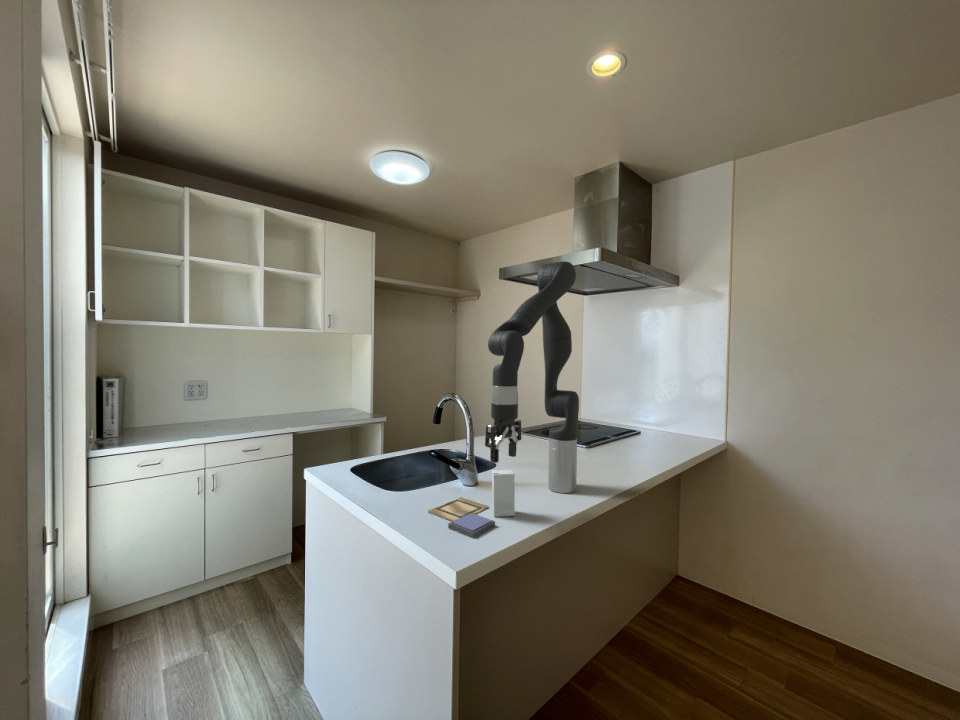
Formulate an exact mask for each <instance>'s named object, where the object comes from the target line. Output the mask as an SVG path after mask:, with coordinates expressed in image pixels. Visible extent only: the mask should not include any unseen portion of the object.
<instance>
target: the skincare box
mask: <svg viewBox="0 0 960 720" xmlns="http://www.w3.org/2000/svg"><path fill="white" fill-rule="evenodd" d="M515 486H516V485H515V473H514V470H512V469H499V470H498V469H497V470H495V469H494V470H493V469H492V470H491V499H492V500H491V506H492V507H491V509H492V510H491V511H492V514H493V517H496V518H498V517H515V515H516V514H515V513H516V512H515V507H516V506H515V505H516V504H515V502H516V501H515V498H516V496H515V490H516V489H515V488H516V487H515Z"/></svg>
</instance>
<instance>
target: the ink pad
mask: <svg viewBox="0 0 960 720" xmlns="http://www.w3.org/2000/svg"><path fill="white" fill-rule="evenodd" d="M447 526H448V527H447V528H448V529H450V530H452V531H454V532H456V533H459V534H462V535H464V536H466V537H469V538H472V539H475V538H476V537H477V536H480V535H482V534H483V533H484V532H487V531H488V530H490V529H493V528H494V527H496V521H495V520H492V519H490V518H486V517H484V516H480V515H478V514H473V513H469V514H467V515H465V516H463V517H461V518H459V519H457V520H455V521H453V522H452V521H450V522H448V523H447Z"/></svg>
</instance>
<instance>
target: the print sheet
mask: <svg viewBox="0 0 960 720" xmlns="http://www.w3.org/2000/svg"><path fill="white" fill-rule="evenodd" d="M489 508H490V507H489V505H487V504H483V503H480V502H477V501H473V500H470V499H467V498H465V497H461V496H460V497H457V498H455V499H453V500H451V501H448V502H446V503H443V504H441V505H438V506H436V507H434V508H431V509H429V510H427V513H429V514H432V515H433V516H437V517H439V518H442V519H444V520H446V521H448V522H449V521H450V522H453V521H455V520H457V519H459V518H461V517H463V516H465V515H467V514H469V513H473V514H476V515H478V514H479V513H481V512H483V511H485V510H488V509H489Z"/></svg>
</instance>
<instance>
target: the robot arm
mask: <svg viewBox="0 0 960 720" xmlns="http://www.w3.org/2000/svg"><path fill="white" fill-rule="evenodd" d="M576 279H577V272H576V268H575V266H574V264H572V263H571V262H570V261H564V260H563V261H555V262H554V261H553V262H550V263H543V264H542V265H540V266H539V268H538V271H537V282H536V283H537V290H538V292H536V293H535V294H533V295H531V296H530V297H529V298H527V299H526V300H525V301H524V302H522V303H521V304H520V305H519V307H518V308H517V309H516V310H515V312H514V313H513V314H512V316H511V317H510V318H509V319H507V320H506V321H504V322H503V323H502V324H501V325H500V326H498V327H497V328H495V330H494V331H493V332H492V333H491V334H490V335H489V338H488V341H487V347H488V350H489V352H490V353H491V354H492V355H494V356H497V357H502V360H501V362H500V363H499V364H496V365H494V367H493V369H492V388H491V397H490V398H491V400H490V401H491V402H490V404H491V405H490V406H491V407H490V409H491V410H490V414H491V415H490V417H491V419H493V424H486V426H485V439H484V440H485V441H484V446H485V447H486V448H489V449H490V452H489V453H490V462H491V463H493V464H494V463H495V464H498V463H499V462H500V461H499V460H500V456H499V453H500V449H499V447H500V445H501V443H503V442H504V440H505V439H507V441H508V456H509V457H512V458H513V457H514V458H515V457H517V444H518V443H519V441H521V440H522V420H520V419H518V416H519V389H518V374H519V368H520V365H521V361H522V358H523V354H524V350H525V341H524V338H523V337H525V336H526V335H527V336H528V334H530V332H531V331H532V330H533V328H534V327H536V325H537V323H538V322H539V321H540V319H541V322H542V323H541V324H542V343H543V344H542V345H543V346H542V347H543V349H542V350H543V359H544V409H545V410H544V411H545V413H546V415H547V416H548V417H552V418H559V419H560V418H561V419H565V422H564V423H563V424H560V425H559V426H555V427H551V428H550V429H549V431H548V479H547V480H548V485H547V486H548V489H549V490H550V491H551V492H555V493H560V494H570V493H571V494H572V493H575V492H576V491H577V484H578V483H577V476H578V475H577V474H578V473H577V471H578V470H577V469H578V467H577V466H578V459H577V458H578V454H577V453H578V430H579V429H578V428H579V410H580V397H579V395H578V393H577V392H576V391H575V390H561V389H558V381H559V380H558V379H559V376H560V374H561V373H562V370H563V369H564V367H565V365H566V364H567V362H568V361H569V359H570V357H571V355H572V351H573V350H572V349H573V344H572V342H573V341H572V331H571V328H570V326H569V324H568V322H567V321H566V319H565V318H564V316H563V314H562V313H561V310H560V308H559V306H558V301H559V300H560V298H562V297H563V296H564V295H565V294H566V293H568V291H570V290H571V289H572V287H573V286H574V284H575V283H576Z"/></svg>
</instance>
